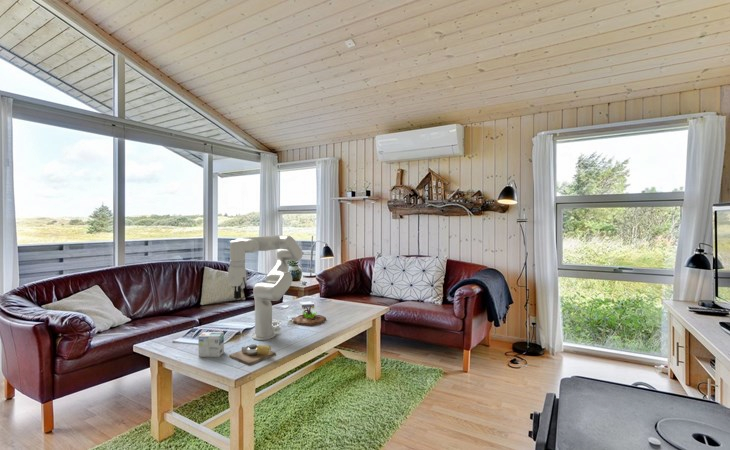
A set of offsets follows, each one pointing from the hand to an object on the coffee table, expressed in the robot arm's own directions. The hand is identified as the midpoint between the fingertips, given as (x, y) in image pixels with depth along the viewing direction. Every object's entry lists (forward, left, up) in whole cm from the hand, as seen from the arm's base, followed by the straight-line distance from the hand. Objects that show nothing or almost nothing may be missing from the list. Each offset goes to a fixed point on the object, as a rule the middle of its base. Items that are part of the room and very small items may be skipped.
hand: (237, 298), depth 192 cm
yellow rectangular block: (0, +16, -25) cm, 30 cm away
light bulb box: (+13, -4, -27) cm, 30 cm away
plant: (-57, -3, -28) cm, 64 cm away
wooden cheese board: (+1, +14, -27) cm, 31 cm away
